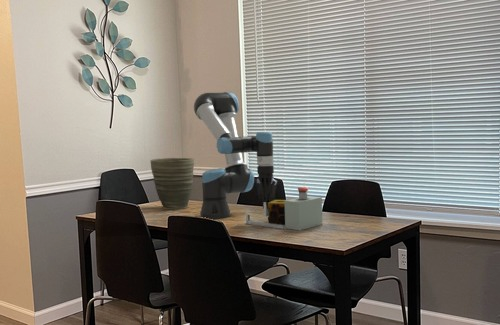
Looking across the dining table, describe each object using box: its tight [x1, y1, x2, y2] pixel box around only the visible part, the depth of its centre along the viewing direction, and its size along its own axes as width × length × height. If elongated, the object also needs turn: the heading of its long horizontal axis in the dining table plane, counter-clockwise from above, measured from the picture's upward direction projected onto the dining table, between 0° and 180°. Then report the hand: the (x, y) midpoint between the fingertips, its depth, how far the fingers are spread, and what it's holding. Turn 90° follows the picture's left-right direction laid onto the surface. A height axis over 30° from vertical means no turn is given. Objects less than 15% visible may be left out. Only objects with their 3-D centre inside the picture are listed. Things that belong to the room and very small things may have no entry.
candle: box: [267, 199, 287, 225], centre depth 257 cm, size 10×10×10 cm
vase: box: [150, 157, 195, 211], centre depth 314 cm, size 25×24×30 cm
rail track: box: [245, 214, 286, 230], centre depth 258 cm, size 22×19×4 cm
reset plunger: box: [297, 186, 309, 200], centre depth 247 cm, size 4×4×8 cm
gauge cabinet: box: [284, 195, 323, 231], centre depth 248 cm, size 9×16×12 cm, turn 136°
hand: (267, 215), depth 263 cm, fingers closed
